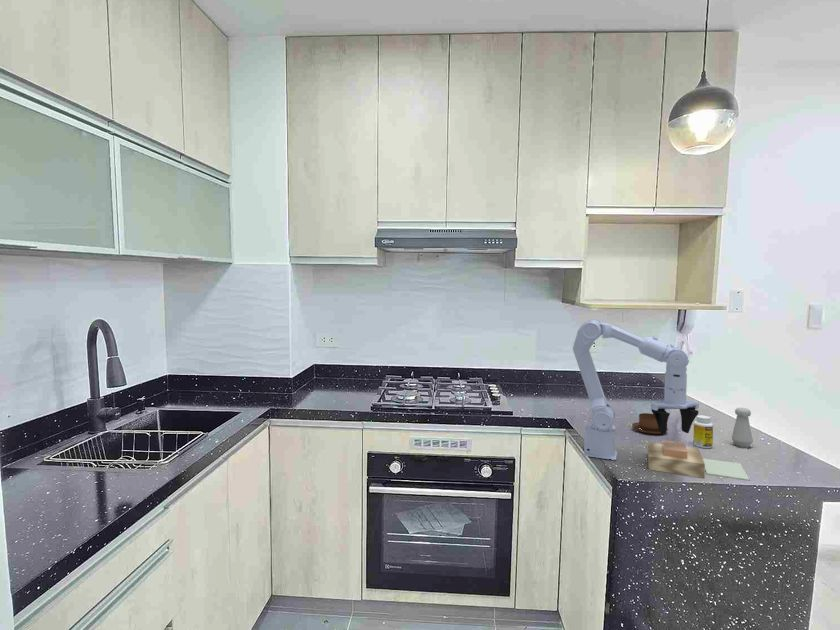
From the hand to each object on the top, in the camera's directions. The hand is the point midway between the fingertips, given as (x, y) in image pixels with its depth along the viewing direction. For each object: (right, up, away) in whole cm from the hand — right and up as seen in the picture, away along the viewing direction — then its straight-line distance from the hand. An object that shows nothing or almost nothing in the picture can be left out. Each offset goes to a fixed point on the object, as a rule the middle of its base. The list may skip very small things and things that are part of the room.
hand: (674, 432), depth 133 cm
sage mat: (+13, -10, -3) cm, 17 cm away
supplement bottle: (+20, -10, +17) cm, 28 cm away
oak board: (0, -10, 0) cm, 10 cm away
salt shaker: (+33, -9, +17) cm, 39 cm away
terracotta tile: (0, -6, 0) cm, 6 cm away
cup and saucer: (+11, -9, +34) cm, 37 cm away
